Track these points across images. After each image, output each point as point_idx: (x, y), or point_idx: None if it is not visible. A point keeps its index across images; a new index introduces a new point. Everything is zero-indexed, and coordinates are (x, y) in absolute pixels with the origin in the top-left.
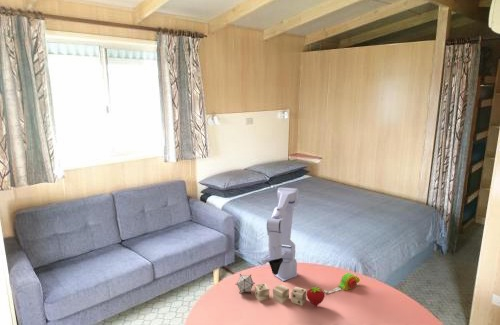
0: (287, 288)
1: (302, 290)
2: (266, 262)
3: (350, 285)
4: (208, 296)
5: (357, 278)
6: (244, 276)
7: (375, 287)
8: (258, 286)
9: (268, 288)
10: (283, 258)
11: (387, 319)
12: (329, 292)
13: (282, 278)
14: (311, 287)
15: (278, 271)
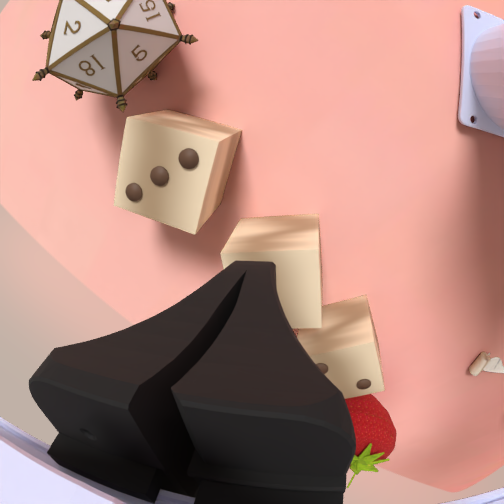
0: (312, 321)
1: (358, 387)
2: (4, 427)
3: None
4: (6, 15)
5: None
6: (71, 17)
7: None
8: (141, 152)
9: (191, 228)
10: None
11: (418, 479)
12: (486, 366)
13: (474, 97)
14: (370, 443)
15: (491, 54)
